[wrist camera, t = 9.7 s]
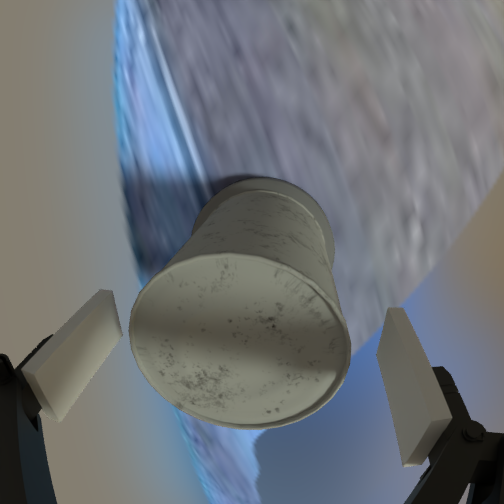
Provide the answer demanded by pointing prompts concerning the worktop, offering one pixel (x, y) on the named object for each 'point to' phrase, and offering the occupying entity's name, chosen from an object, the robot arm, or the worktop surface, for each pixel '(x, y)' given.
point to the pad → (274, 186)
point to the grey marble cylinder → (245, 318)
